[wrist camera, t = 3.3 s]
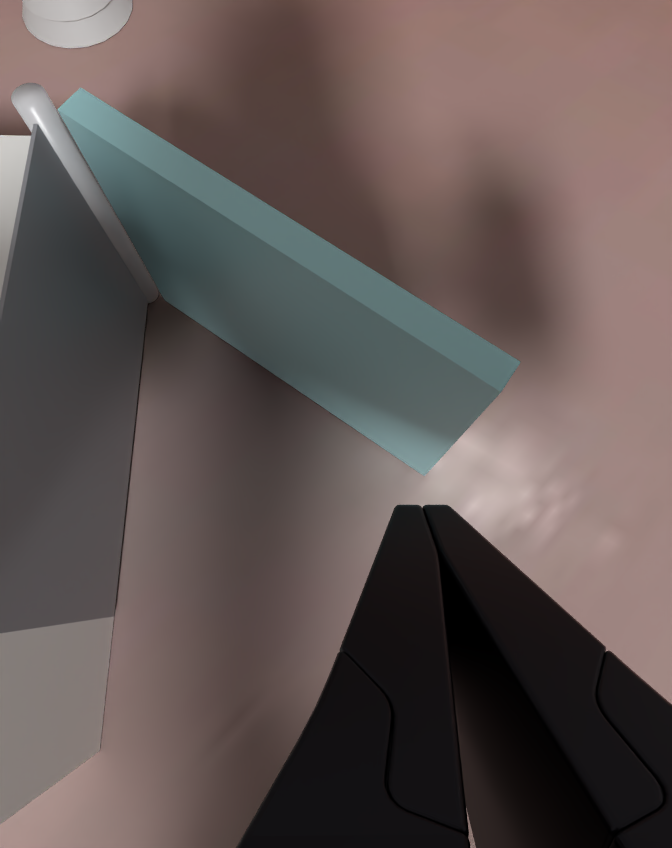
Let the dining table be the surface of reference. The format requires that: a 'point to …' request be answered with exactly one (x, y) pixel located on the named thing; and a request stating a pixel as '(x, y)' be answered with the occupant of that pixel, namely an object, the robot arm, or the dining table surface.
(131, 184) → the hatch
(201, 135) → the dining table surface
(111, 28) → the chalice
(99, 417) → the case
